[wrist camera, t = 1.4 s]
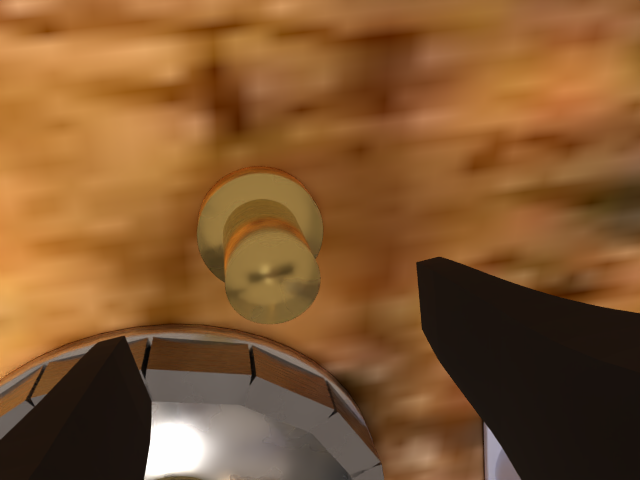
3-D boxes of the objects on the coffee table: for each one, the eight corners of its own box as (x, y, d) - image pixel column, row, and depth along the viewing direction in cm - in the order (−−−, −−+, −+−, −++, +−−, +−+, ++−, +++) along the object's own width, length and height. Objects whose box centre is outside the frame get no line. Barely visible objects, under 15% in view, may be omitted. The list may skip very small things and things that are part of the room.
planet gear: (306, 154, 18) (337, 192, 13) (325, 262, 20) (358, 327, 15) (183, 180, 17) (172, 229, 13) (214, 289, 19) (215, 365, 15)
